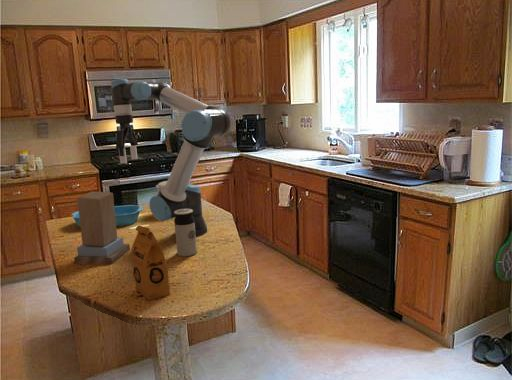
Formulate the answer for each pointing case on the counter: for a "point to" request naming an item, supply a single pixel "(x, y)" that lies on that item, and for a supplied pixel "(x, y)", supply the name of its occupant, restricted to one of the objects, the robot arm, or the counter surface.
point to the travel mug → (185, 232)
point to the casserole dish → (119, 214)
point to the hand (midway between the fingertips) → (129, 161)
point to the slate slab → (100, 249)
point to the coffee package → (149, 265)
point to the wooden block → (97, 218)
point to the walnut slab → (103, 260)
